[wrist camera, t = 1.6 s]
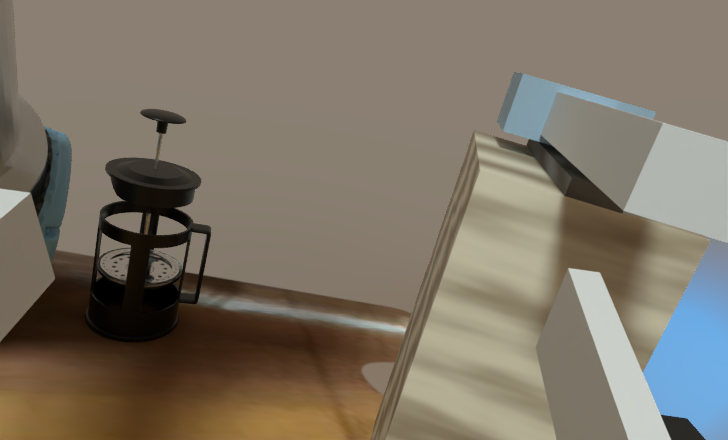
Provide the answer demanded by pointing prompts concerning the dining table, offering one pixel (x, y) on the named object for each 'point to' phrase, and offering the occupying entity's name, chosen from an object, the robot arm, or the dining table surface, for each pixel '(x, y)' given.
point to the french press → (144, 246)
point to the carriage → (627, 153)
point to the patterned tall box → (521, 292)
